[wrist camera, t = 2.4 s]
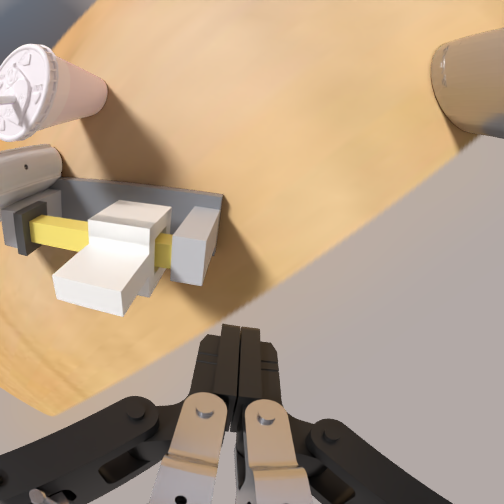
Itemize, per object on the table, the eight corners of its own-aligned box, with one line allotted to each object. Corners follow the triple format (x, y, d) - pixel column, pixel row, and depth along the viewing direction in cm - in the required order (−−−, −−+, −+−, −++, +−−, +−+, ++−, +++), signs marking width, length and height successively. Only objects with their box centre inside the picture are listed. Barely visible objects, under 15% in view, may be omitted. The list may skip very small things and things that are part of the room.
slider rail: (223, 194, 23) (206, 227, 15) (215, 251, 25) (198, 304, 17) (51, 176, 22) (-6, 199, 14) (54, 224, 24) (2, 259, 16)
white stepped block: (171, 206, 19) (119, 261, 11) (168, 265, 21) (126, 340, 13) (119, 200, 19) (48, 247, 11) (119, 256, 20) (62, 321, 13)
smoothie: (71, 142, 21) (-53, 175, 8) (57, 83, 18) (-62, 82, 5) (129, 113, 20) (1, 115, 7) (113, 49, 17) (-4, 9, 5)
